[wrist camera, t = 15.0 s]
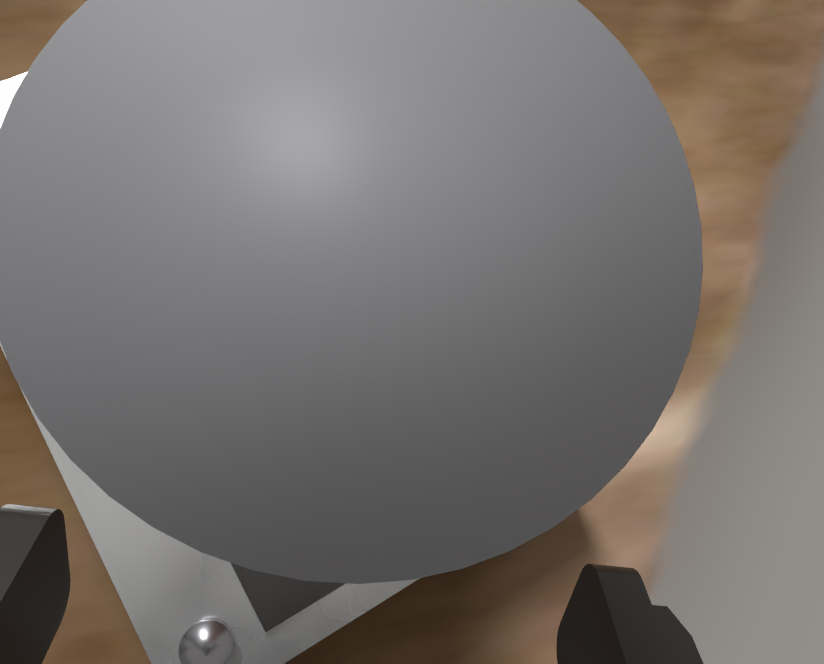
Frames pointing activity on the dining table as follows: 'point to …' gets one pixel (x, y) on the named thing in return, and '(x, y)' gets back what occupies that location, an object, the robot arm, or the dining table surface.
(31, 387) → the plug
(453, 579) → the dining table surface
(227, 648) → the plate
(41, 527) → the robot arm
